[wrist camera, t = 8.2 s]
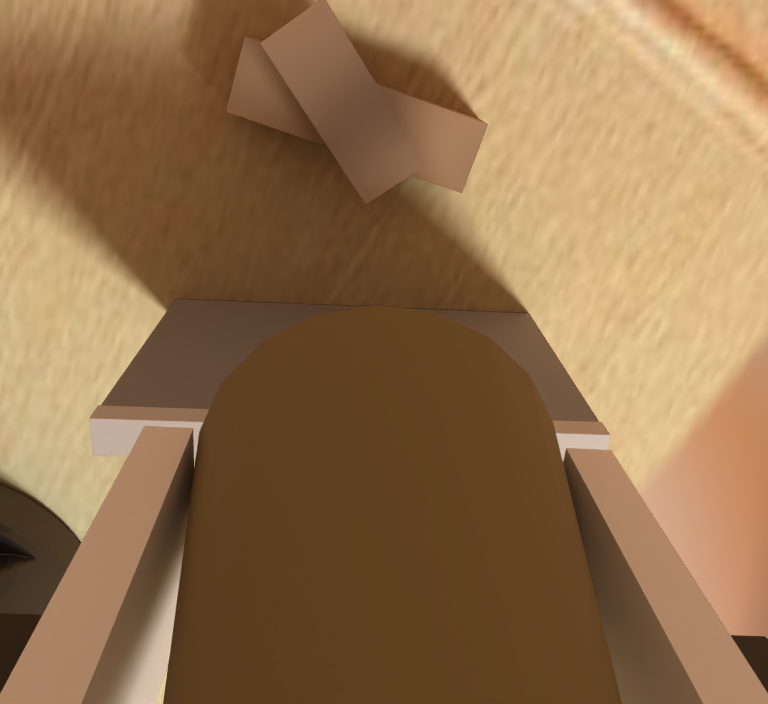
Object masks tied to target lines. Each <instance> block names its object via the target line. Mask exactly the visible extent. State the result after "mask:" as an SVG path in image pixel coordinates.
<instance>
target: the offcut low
mask: <svg viewBox="0 0 768 704" xmlns="http://www.w3.org/2000/svg"><path fill="white" fill-rule="evenodd" d="M262 41H263V40H261V39H258V38H255V37H251V36H245V37H244V41H243V45H242V49H241V53H240V57H239V61H238V65H237V69H236V73H235V77H234V81H233V85H232V89H231V93H230V97H229V101H228V105H227V109H226V112H228V113H231V114H234V115H237V116H239V117H242V118H245V119H248V120H251V121H254V122H257V123H260V124H263V125H266V126H268V127H271V128H274V129H277V130H280V131H283V132H286V133H289V134H292V135H295V136H298V137H300V138H303V139H306V140H309V141H312V142H315V143H318V144H321V145H324V146H327V145H326V143H325V142H324V140H323V139H322V137H321V136H320V134H319V133H318V131H317V130H316V128H315V127H314V125H313V123H312V122H311V120H310V119H309V117H308V116H307V114H306V113H305V111H304V110H303V108H302V107H301V105H300V104H299V102H298V100H297V99H296V97H295V96H294V94H293V93H292V91H291V90H290V88H289V87H288V85H287V84H286V82H285V81H284V79H283V77H282V76H281V74H280V73H279V71H278V70H277V68H276V67H275V65H274V64H273V62H272V61H271V59H270V57H269V56H268V54H267V53H266V51H265V50H264V48H263V47H262V45H261V44H260V43H261V42H262ZM375 82H376V81H375ZM376 84H377V86H378V87H379V89H380V91H381V92H382V94H383V96H384V97H385V99H386V101H387V102H388V104H389V106H390V107H391V109H392V111H393V112H394V114H395V116H396V117H397V119H398V120H399V122H400V124H401V125H402V127H403V129H404V130H405V132H406V134H407V135H408V137H409V139H410V140H411V142H412V144H413V145H414V147H415V149H416V150H417V152H418V154H419V155H420V157H421V159H422V160H423V162H424V164H425V165H426V166H424V167H423V168H421V169H420V170H418V171H417V172H415V173H414V174H412V175H411V176H414V177H416V178H419V179H422V180H425V181H428V182H431V183H434V184H437V185H440V186H443V187H445V188H448V189H451V190H454V191H457V192H460V193H462V192H463V189H464V186H465V184H466V181H467V178H468V176H469V173H470V170H471V168H472V165H473V163H474V160H475V157H476V155H477V152H478V149H479V147H480V144H481V142H482V139H483V136H484V134H485V131H486V128H487V126H488V124H486V123H485V122H483V121H482V120H480V119H478V118H475V117H472V116H470V115H467V114H464V113H461V112H459V111H456V110H453V109H450V108H448V107H445V106H442V105H439V104H437V103H434V102H431V101H428V100H426V99H423V98H420V97H417V96H415V95H412V94H409V93H406V92H404V91H401V90H398V89H395V88H393V87H390V86H387V85H384V84H382V83H379V82H376Z"/></svg>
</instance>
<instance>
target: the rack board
mask: <svg viewBox="0 0 768 704" xmlns="http://www.w3.org/2000/svg"><path fill="white" fill-rule="evenodd" d="M360 307H365V306H340V305H316V304H292V303H267V302H243V301H219V300H194V299H175V301H174V302H173V303H172V305H171V306H170V308H169V309H168V311H167V312H166V313H165V315H164V316H163V318H162V319H161V321H160V322H159V323H158V325H157V326H156V328H155V329H154V331H153V332H152V333H151V335H150V336H149V338H148V339H147V340H146V342H145V343H144V345H143V346H142V348H141V349H140V350H139V352H138V353H137V355H136V356H135V358H134V359H133V360H132V362H131V363H130V365H129V366H128V367H127V369H126V370H125V372H124V373H123V375H122V376H121V377H120V379H119V380H118V382H117V383H116V385H115V386H114V387H113V389H112V390H111V392H110V393H109V394H108V396H107V397H106V399H105V400H104V402H103V403H102V404H101V406H98V407H97V408H96V409H95V411H94V412H93V414H92V415H91V416H90V418H89V422H90V431H91V440H92V449H93V455H101V456H128V455H129V453H130V452H131V450H132V448H133V446H134V444H135V442H136V440H137V439H138V437H139V435H140V433H141V431H142V429H143V427H144V426H161V427H180V428H193V436H194V458H196V452H197V445H198V437H199V431H200V429H201V427H202V424H203V422H204V420H205V418H206V416H207V413H208V411H209V409H210V407H211V404H212V402H213V400H214V398H215V396H216V393H217V391H218V389H219V387H220V385H221V383H222V382H223V381H224V380H225V379H226V378H227V377H228V376H229V375H230V374H231V373H232V372H233V371H234V370H235V369H236V368H237V367H238V366H239V365H240V364H241V362H242V361H243V360H244V359H245V358H246V357H247V356H248V355H249V354H250V353H251V352H252V351H253V350H254V349H255V348H256V347H257V346H258V345H259V344H260V343H262V342H263V341H265V340H267V339H269V338H271V337H273V336H275V335H277V334H279V333H281V332H283V331H285V330H287V329H289V328H291V327H293V326H295V325H297V324H298V323H300V322H302V321H304V320H306V319H308V318H310V317H312V316H314V315H320V314H326V313H331V312H337V311H343V310H349V309H354V308H360ZM404 309H412V310H420V311H428V312H435V313H439V314H441V315H443V316H445V317H447V318H449V319H451V320H454V321H456V322H458V323H460V324H462V325H464V326H467V327H469V328H471V329H473V330H475V331H477V332H480V333H482V334H484V335H486V336H488V337H490V338H491V339H492V340H494V341H495V342H496V343H497V344H498V345H499V346H500V347H501V348H502V349H503V350H504V351H505V352H506V353H507V354H508V355H509V356H510V357H511V358H512V359H513V360H515V361H516V362H517V363H518V364H519V365H520V366H521V367H522V368H523V369H524V370H525V371H526V372H527V373H528V374H529V375H530V376H531V378H532V380H533V382H534V384H535V386H536V388H537V390H538V392H539V394H540V396H541V398H542V400H543V402H544V404H545V407H546V409H547V411H548V413H549V415H550V417H551V419H552V421H553V424H554V428H555V432H556V436H557V440H558V444H559V448H560V452H561V456H562V461H564V456H565V451H566V448H580V449H598V450H607V449H608V444H609V439H610V434H609V432H608V431H607V429H606V428H605V426H604V425H603V423H602V422H599V421H598V419H597V418H596V416H595V415H594V413H593V412H592V410H591V408H590V407H589V405H588V404H587V402H586V401H585V399H584V398H583V396H582V394H581V393H580V391H579V390H578V388H577V387H576V385H575V384H574V382H573V381H572V379H571V377H570V376H569V374H568V373H567V371H566V370H565V368H564V367H563V365H562V364H561V362H560V360H559V359H558V357H557V356H556V354H555V353H554V351H553V350H552V348H551V346H550V345H549V343H548V342H547V340H546V339H545V337H544V336H543V334H542V333H541V331H540V329H539V328H538V326H537V325H536V323H535V322H534V320H533V319H532V317H531V315H530V314H529V313H511V312H486V311H462V310H438V309H413V308H404Z"/></svg>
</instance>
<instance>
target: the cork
mask: <svg viewBox="0 0 768 704" xmlns="http://www.w3.org/2000/svg"><path fill="white" fill-rule="evenodd" d="M163 704H622V701H621V697H620V693H619V689H618V685H617V681H616V677H615V672H614V668H613V664H612V660H611V656H610V652H609V648H608V644H607V640H606V636H605V632H604V628H603V624H602V619H601V615H600V611H599V607H598V603H597V599H596V595H595V591H594V587H593V583H592V579H591V575H590V571H589V567H588V562H587V558H586V554H585V550H584V546H583V542H582V538H581V534H580V530H579V526H578V522H577V518H576V514H575V509H574V505H573V501H572V497H571V493H570V489H569V485H568V481H567V477H566V473H565V469H564V465H563V461H562V456H561V452H560V448H559V444H558V440H557V436H556V432H555V428H554V424H553V421H552V419H551V417H550V415H549V413H548V411H547V409H546V407H545V404H544V402H543V400H542V398H541V396H540V394H539V392H538V390H537V388H536V386H535V384H534V382H533V380H532V378H531V376H530V375H529V374H528V373H527V372H526V371H525V370H524V369H523V368H522V367H521V366H520V365H519V364H518V363H517V362H516V361H515V360H513V359H512V358H511V357H510V356H509V355H508V354H507V353H506V352H505V351H504V350H503V349H502V348H501V347H500V346H499V345H498V344H497V343H496V342H495V341H494V340H492V339H491V338H490V337H488V336H486V335H484V334H482V333H480V332H477V331H475V330H473V329H471V328H469V327H467V326H464V325H462V324H460V323H458V322H456V321H454V320H451V319H449V318H447V317H445V316H443V315H441V314H439V313H435V312H428V311H420V310H412V309H404V308H396V307H388V306H380V305H372V306H366V307H360V308H354V309H349V310H343V311H337V312H331V313H326V314H320V315H314V316H312V317H310V318H308V319H306V320H304V321H302V322H300V323H298V324H297V325H295V326H293V327H291V328H289V329H287V330H285V331H283V332H281V333H279V334H277V335H275V336H273V337H271V338H269V339H267V340H265V341H263V342H262V343H260V344H259V345H258V346H257V347H256V348H255V349H254V350H253V351H252V352H251V353H250V354H249V355H248V356H247V357H246V358H245V359H244V360H243V361H242V362H241V364H240V365H239V366H238V367H237V368H236V369H235V370H234V371H233V372H232V373H231V374H230V375H229V376H228V377H227V378H226V379H225V380H224V381H223V382H222V383H221V385H220V387H219V389H218V391H217V393H216V396H215V398H214V400H213V402H212V404H211V407H210V409H209V411H208V413H207V416H206V418H205V420H204V422H203V424H202V427H201V429H200V431H199V437H198V445H197V452H196V460H195V467H194V475H193V483H192V490H191V498H190V505H189V513H188V520H187V528H186V535H185V543H184V551H183V558H182V566H181V573H180V581H179V588H178V596H177V603H176V611H175V619H174V626H173V634H172V641H171V649H170V656H169V664H168V672H167V679H166V687H165V694H164V702H163Z"/></svg>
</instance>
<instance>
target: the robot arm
mask: <svg viewBox="0 0 768 704" xmlns="http://www.w3.org/2000/svg"><path fill="white" fill-rule="evenodd" d="M563 465H564V469H565V473H566V477H567V481H568V485H569V489H570V493H571V497H572V501H573V505H574V509H575V514H576V518H577V522H578V526H579V530H580V534H581V538H582V542H583V546H584V550H585V554H586V558H587V562H588V567H589V571H590V575H591V579H592V583H593V587H594V591H595V595H596V599H597V603H598V607H599V611H600V615H601V619H602V624H603V628H604V632H605V636H606V640H607V644H608V648H609V652H610V656H611V660H612V664H613V668H614V672H615V677H616V681H617V685H618V689H619V693H620V697H621V701H622V704H768V639H767V638H766V637H763V636H734V635H732V636H731V635H730V634H729V632H728V631H727V629H726V628H725V626H724V625H723V623H722V621H721V620H720V618H719V617H718V615H717V614H716V612H715V611H714V609H713V608H712V606H711V604H710V603H709V601H708V600H707V598H706V597H705V595H704V594H703V592H702V590H701V589H700V587H699V586H698V584H697V583H696V581H695V580H694V578H693V576H692V575H691V573H690V572H689V570H688V569H687V567H686V566H685V564H684V562H683V561H682V559H681V558H680V556H679V555H678V553H677V552H676V550H675V548H674V547H673V545H672V544H671V543H670V541H669V539H668V538H667V536H666V535H665V533H664V531H663V530H662V528H661V527H660V525H659V524H658V522H657V521H656V519H655V518H654V516H653V514H652V513H651V511H650V510H649V508H648V507H647V505H646V503H645V502H644V500H643V499H642V497H641V496H640V494H639V493H638V491H637V490H636V488H635V486H634V485H633V483H632V482H631V480H630V479H629V477H628V476H627V474H626V472H625V471H624V469H623V468H622V466H621V465H620V463H619V462H618V460H617V458H616V457H615V455H614V454H613V452H612V451H611V450H598V449H580V448H566V451H565V456H564V461H563ZM193 475H194V436H193V428H180V427H161V426H144V427H143V429H142V431H141V433H140V435H139V437H138V439H137V440H136V442H135V444H134V446H133V448H132V450H131V452H130V453H129V455H128V457H127V459H126V461H125V463H124V465H123V466H122V468H121V470H120V472H119V474H118V476H117V478H116V479H115V481H114V483H113V485H112V487H111V489H110V491H109V492H108V494H107V496H106V498H105V500H104V502H103V504H102V505H101V507H100V509H99V511H98V513H97V515H96V517H95V518H94V520H93V522H92V524H91V526H90V528H89V530H88V531H87V533H86V535H85V537H84V539H83V541H82V543H80V542H79V541H78V540H77V538H76V537H75V536H74V535H73V534H72V533H71V532H70V531H69V530H68V529H67V528H66V527H65V526H64V525H63V524H62V523H61V522H60V521H59V520H58V519H57V518H55V517H54V516H53V515H52V514H50V513H49V512H48V511H46V510H45V509H44V508H42V507H41V506H39V505H38V504H36V503H35V502H33V501H32V500H30V499H28V498H27V497H25V496H23V495H21V494H19V493H17V492H15V491H13V490H11V489H9V488H7V487H5V486H2V485H0V704H156V702H157V698H158V695H159V692H160V688H161V685H162V681H163V678H164V675H165V671H166V668H167V664H168V661H169V656H170V649H171V641H172V634H173V626H174V619H175V611H176V603H177V596H178V588H179V581H180V573H181V566H182V558H183V551H184V543H185V535H186V528H187V520H188V513H189V505H190V498H191V490H192V483H193Z"/></svg>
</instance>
